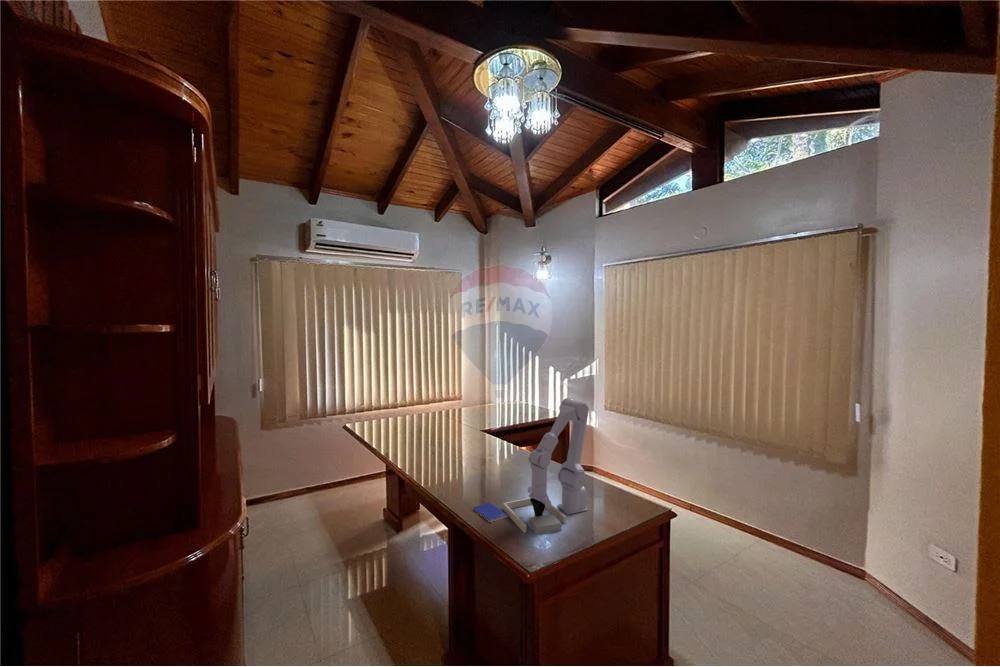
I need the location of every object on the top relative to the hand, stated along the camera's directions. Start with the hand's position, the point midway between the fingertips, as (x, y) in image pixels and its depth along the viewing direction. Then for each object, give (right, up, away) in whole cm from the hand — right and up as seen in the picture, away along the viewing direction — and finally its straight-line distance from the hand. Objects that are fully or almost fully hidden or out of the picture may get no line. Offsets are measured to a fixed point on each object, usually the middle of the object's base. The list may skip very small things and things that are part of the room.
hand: (538, 518), depth 142 cm
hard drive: (-19, -2, +6) cm, 20 cm away
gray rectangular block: (+2, -2, -4) cm, 5 cm away
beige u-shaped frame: (-1, -1, +4) cm, 4 cm away
